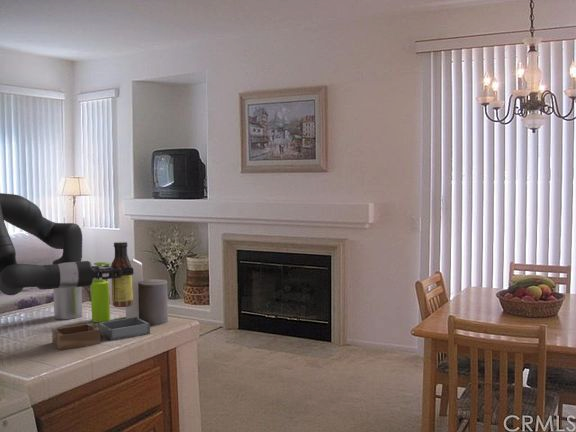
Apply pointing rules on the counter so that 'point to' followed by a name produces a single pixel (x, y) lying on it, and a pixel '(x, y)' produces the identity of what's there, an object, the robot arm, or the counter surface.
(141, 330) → the tray
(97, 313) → the soap dispenser
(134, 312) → the milk
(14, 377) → the counter surface
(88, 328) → the collar
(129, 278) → the sauce bottle
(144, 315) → the pillar candle
